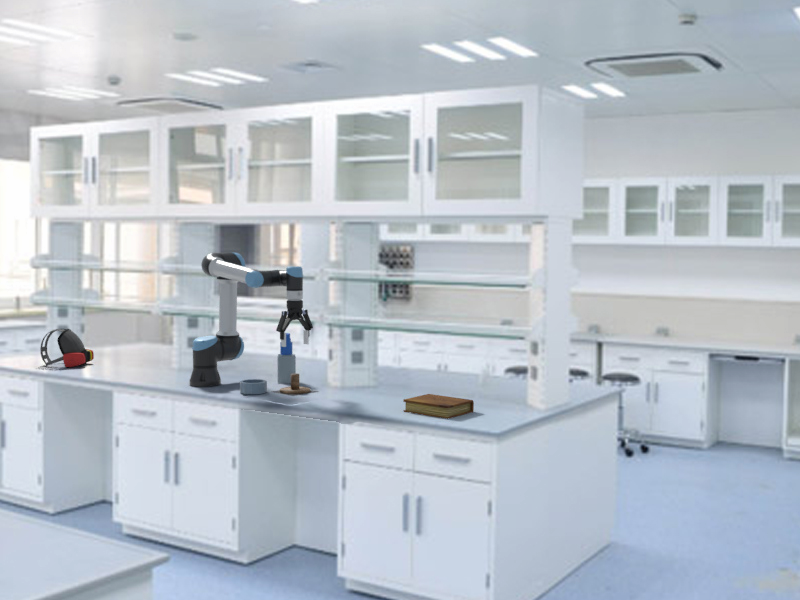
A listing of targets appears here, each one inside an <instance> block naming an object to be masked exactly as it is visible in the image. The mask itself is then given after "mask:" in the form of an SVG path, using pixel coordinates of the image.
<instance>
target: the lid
mask: <svg viewBox="0 0 800 600" xmlns="http://www.w3.org/2000/svg"><path fill="white" fill-rule="evenodd" d="M279 390H280V393H284V394H283V395H285V394H303V395H306V394H305V393H309V392H310V390H311V388H310V387H307V386H300V373H296V374H291V383H290V386H285V387H281V388H279ZM280 393H279V394H280ZM309 394H310V393H309Z"/></svg>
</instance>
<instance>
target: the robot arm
mask: <svg viewBox="0 0 800 600" xmlns="http://www.w3.org/2000/svg"><path fill="white" fill-rule="evenodd" d="M200 266H201V269H202V271H203V273H204V274H205V275H207V276H209V277H212V278H213V277H214V278H216V280H217V282H218V283H219V297H218V298H219V299H218V300H219V303H218V305H219V306H218V307H219V309H218V310H219V312H218V314H219V315H218V316H219V317H218V318H219V319H218V331H217V332H216V333H215V335H207V336H206V335H204V336H198V337H196V338H195V339H194V340H193V341H192V347H191V348H192V372H191V375H190V379H189V386H192V387H197V388H198V387H200V388H201V387H208V388H209V387H215V386H219V385H222V379H221V376H220V372H219V369H218V363H219V362H224V361H234V360H237V359H239V358H240V357H241V356H242V355H243V354H244V349H245V342H244V340H243V338H242V337H241V336H240V332H239V331H238V330H237V324H238V323H237V321H238V320H237V317H238V316H237V315H238V314H237V313H238V309H237V307H238V306H237V305H238V283H243V284H246V285H247V287H248V288H254V289H257V288H268V287H269V288H272V287H285V288H286V289H285V290H286V293H285V294H286V299H287V300H286V309H287V310H281V316H280V318H279V322H278V323H277V327H276V330H275V331H276V332H278V333H279V340H280V342H281V347H286V333H287V332H286V331H287V329H288V327H289V325H290V324H291V322H292V321H299V322H300V324H301V325H302V327H303V329H304V330H303V345H309V344H310V343H309V341H310V340H309V338H310V331H311V330H312V329H313V328H314V326H313V324H312V322H311V318H310V316H309V311H308V309H305V308H304V301H303V299H304V289H303V288H304V286H303V284H304V273H303V272H304V271H303V267H302V266H294V265H293V266H291V265H290V266H286V269H285V270H282V269H271V270H258V269H255V268H251V267H248V266H246V260H245V259H244V257H243V255H241V254H240V253H239V252H235V251H234V252H232V251H231V252H230V251H227V252H211V253H207V254H206V255H204V257H203V259H202V260H201V265H200Z"/></svg>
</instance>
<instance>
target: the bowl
mask: <svg viewBox="0 0 800 600" xmlns="http://www.w3.org/2000/svg"><path fill="white" fill-rule="evenodd" d="M267 384H268V381H267V380H266V379H259V378H258V379H257V378H253V379H252V378H251V379H242V380H239V393H240V394H242V395H244V396H246V397H247V395H262V394H265V393H267V392H268V387H267V386H268V385H267Z"/></svg>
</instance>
